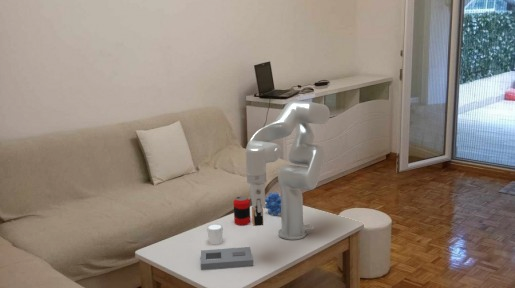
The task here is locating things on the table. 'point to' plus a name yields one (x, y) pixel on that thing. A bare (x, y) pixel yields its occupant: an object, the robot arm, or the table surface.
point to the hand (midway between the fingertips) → (258, 222)
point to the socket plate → (226, 258)
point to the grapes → (273, 203)
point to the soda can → (241, 211)
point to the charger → (254, 215)
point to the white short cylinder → (215, 233)
